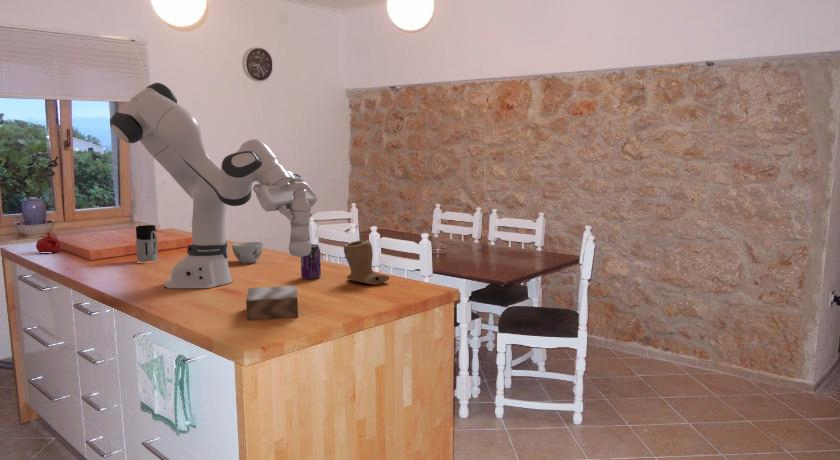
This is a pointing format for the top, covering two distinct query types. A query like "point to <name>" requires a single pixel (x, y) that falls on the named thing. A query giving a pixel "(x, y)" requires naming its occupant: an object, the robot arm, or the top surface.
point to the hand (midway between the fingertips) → (301, 217)
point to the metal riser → (272, 303)
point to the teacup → (247, 251)
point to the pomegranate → (48, 244)
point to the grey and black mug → (146, 243)
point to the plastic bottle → (300, 224)
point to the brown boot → (362, 263)
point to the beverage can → (311, 264)
